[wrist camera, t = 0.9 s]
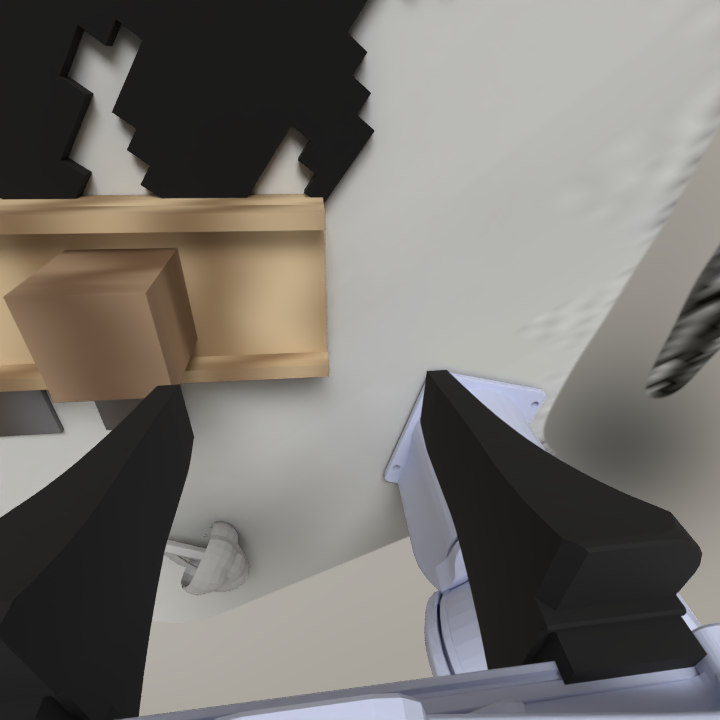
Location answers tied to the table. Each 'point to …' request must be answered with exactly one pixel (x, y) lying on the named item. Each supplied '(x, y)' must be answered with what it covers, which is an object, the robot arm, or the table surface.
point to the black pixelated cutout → (184, 92)
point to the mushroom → (211, 562)
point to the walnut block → (106, 322)
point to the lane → (202, 278)
